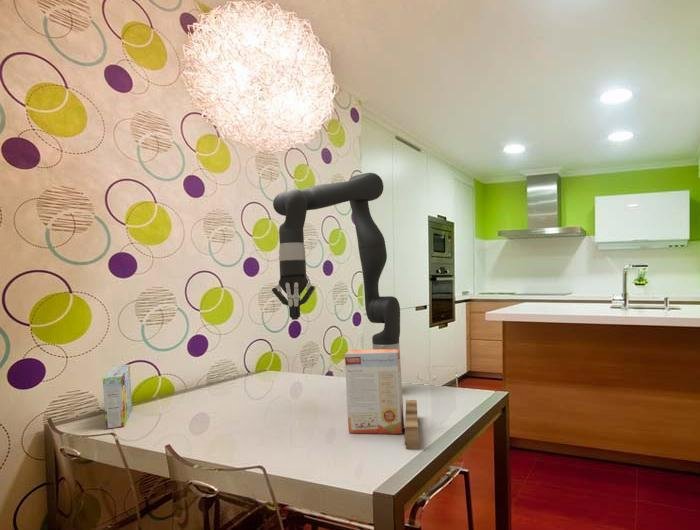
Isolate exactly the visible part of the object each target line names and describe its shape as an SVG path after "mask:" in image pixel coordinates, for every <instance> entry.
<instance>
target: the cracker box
mask: <svg viewBox="0 0 700 530" xmlns="http://www.w3.org/2000/svg"><path fill="white" fill-rule="evenodd" d="M344 363H345V365H344V366H345V385H346V386H345V388H346V389H345V390H346V403H347V404H346V405H347V406H346V407H347V424H348V425H347V426H348V433H349V434H383V435H384V434H385V435H386V434H388V435H389V434H392V435H402V434H403V431H404V430H405V417H404V402H403V401H404V400H403V386H402V385H403V384H402V383H403V382H402V367H401V350H399V349H378V350H373V349H350V350H348V351H347V352H345V353H344Z"/></svg>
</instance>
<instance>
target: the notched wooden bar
mask: <svg viewBox="0 0 700 530" xmlns="http://www.w3.org/2000/svg"><path fill="white" fill-rule="evenodd" d="M404 414H405V417H404V446H405V450H420V439H419V437H420V436H419V417H418V400H417V399H406V401H405V413H404Z"/></svg>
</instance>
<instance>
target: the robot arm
mask: <svg viewBox="0 0 700 530" xmlns="http://www.w3.org/2000/svg"><path fill="white" fill-rule="evenodd" d="M383 193H384V182H383V179H382V178H381V177H380V176H379V174H377V173H376V172H375V173H374V172H365V173H361V174H357V175H353V176H351V177H350V178H349V179H348V180H346V181H340V182H330V183H324V184H317V185H313V186H308V187H306V188H302V189H298V188H292V189H287V190H285V191H282V192H280V193H278V194H276V195H275V197H274V199H273V202H272V205H273V209H274V211H275V212H276V213H277V214H278V215H280V216H284V217H285V220H284V222H283V223H282V224H281V225H280V226H279V227H278V228H279V230H278V235H279V236H278V238H279V241H278V242H279V246H278V247H279V250H278V261H279V280H278V284H277V285H276V286H275V287H272V288H271V291H272V293H273V294H274V295H275V296H276V298H277V299H278V300H279V301H280V302H281V304H282V305H284V306H288V309H289V311H288V312H289V318H290V319H291V320H292V321H297V320H299V318H300V317H301V305H304V304H306V303H307V301H309V299H310V297H311V296H312V295H313V293H314V292H315V290H317V289H316V286H315V285H312V284H311V283H309V279H308V278H307V265H306V264H307V263H306V248H305V241H304V240H305V237H304V227H305V223H306V217H307V212H308V211H314V210H319V209H323V208H324V209H325V208H328V207H332V206H335V205H340V204H342V203H346V202H349V204H350V208H351V212H352V216H353V223H354V227H355V232H356V238H357V239H356V240H357V247H358V254H359V260H360V265H361V266H360V267H361V271H362V279H363V288H364V289H363V292H364V306H365V313H366V317H367V319H368V320H369V322H370V323H373V324H384V325H383V326H384V327H383V330H382V331H380V332H378V333H375V334H373V336H372V337H371V340H372V341H371V342H372V350H378V349H399V350H400V349H401V348H400V336H401V306H400V301H399V300H398V299H397V298H396V297H395V296H391V295H390V296H389V295H388V296H387V295H385V296H383V295H382V296H380V293H379V281H380V278H381V275H382V273H383V271H384V268H385V266H386V264H387V263H386V262H387V258H388V253H387V247H386V241H385V240H386V239H385V237H384V235H383V233H382V231H381V230H380V228H379V227H378V225H377V223H376V222H375V220H374V219H373V217H372V215H371V211H370V206H369V205H370V204H369V202H371V201H375V200H377V199H379V198H380V197H381V196H382V195H383ZM304 290H305V291H306V292H305V294H304V295H303V297H302V293H304ZM282 291H283V292H284V294H286V296H285V295H284V294H283V293H282ZM400 351H401V350H400Z"/></svg>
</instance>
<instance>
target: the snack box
mask: <svg viewBox="0 0 700 530" xmlns="http://www.w3.org/2000/svg"><path fill="white" fill-rule="evenodd" d="M131 383H132V382H131V365H130V364H119V365H114V366H112V368H110V370H108V372H107V373H106V375H104V376H103V378H102V388H103V401H104V402H103V405H104V422H105V424H104V425H105V427H104V428H105V430H110V429H118V428H124V427H125V426H126V423H127V421H128V418H129V416H130V414H131V412H132V410H133V402H132V399H133V397H132V387H131Z"/></svg>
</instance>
